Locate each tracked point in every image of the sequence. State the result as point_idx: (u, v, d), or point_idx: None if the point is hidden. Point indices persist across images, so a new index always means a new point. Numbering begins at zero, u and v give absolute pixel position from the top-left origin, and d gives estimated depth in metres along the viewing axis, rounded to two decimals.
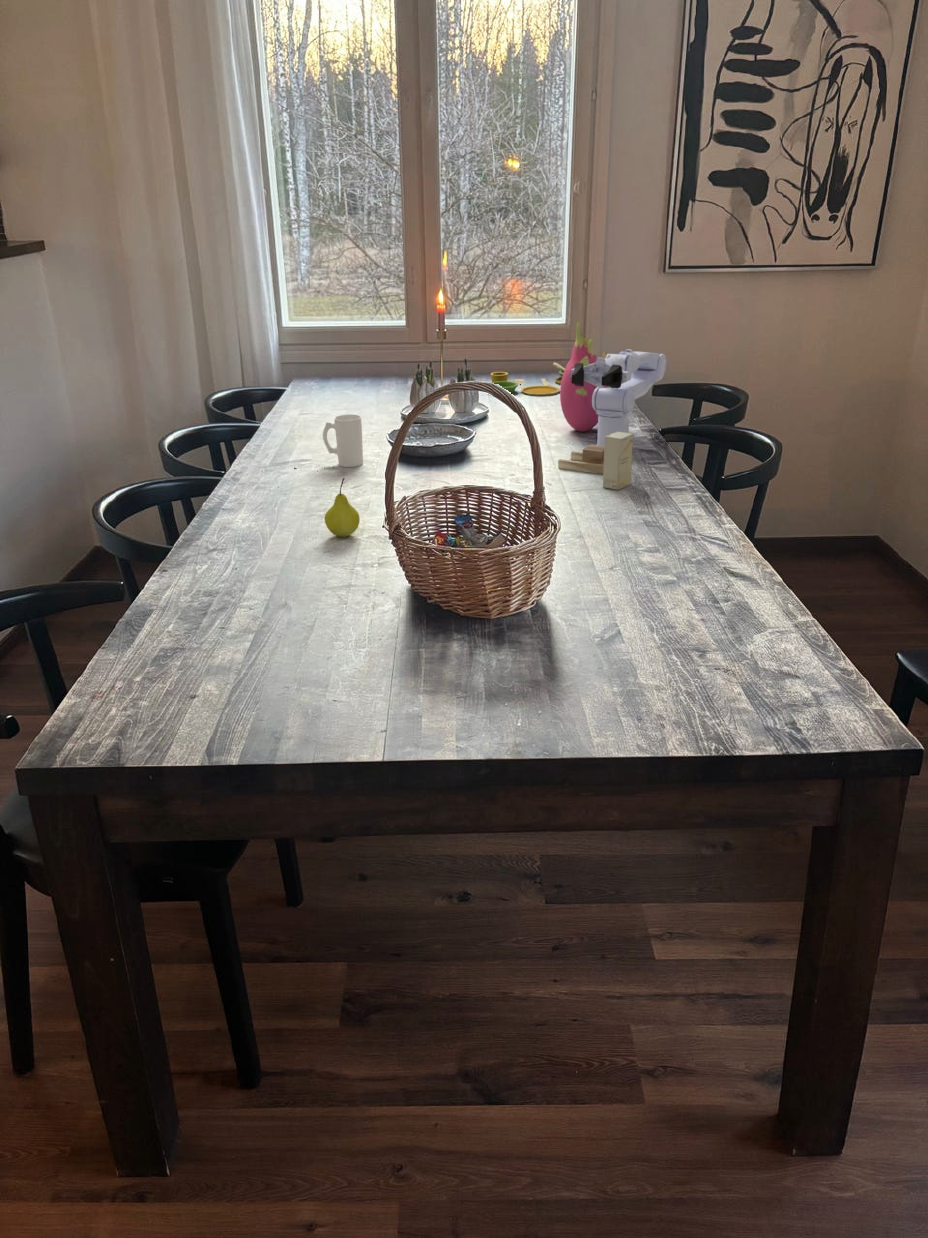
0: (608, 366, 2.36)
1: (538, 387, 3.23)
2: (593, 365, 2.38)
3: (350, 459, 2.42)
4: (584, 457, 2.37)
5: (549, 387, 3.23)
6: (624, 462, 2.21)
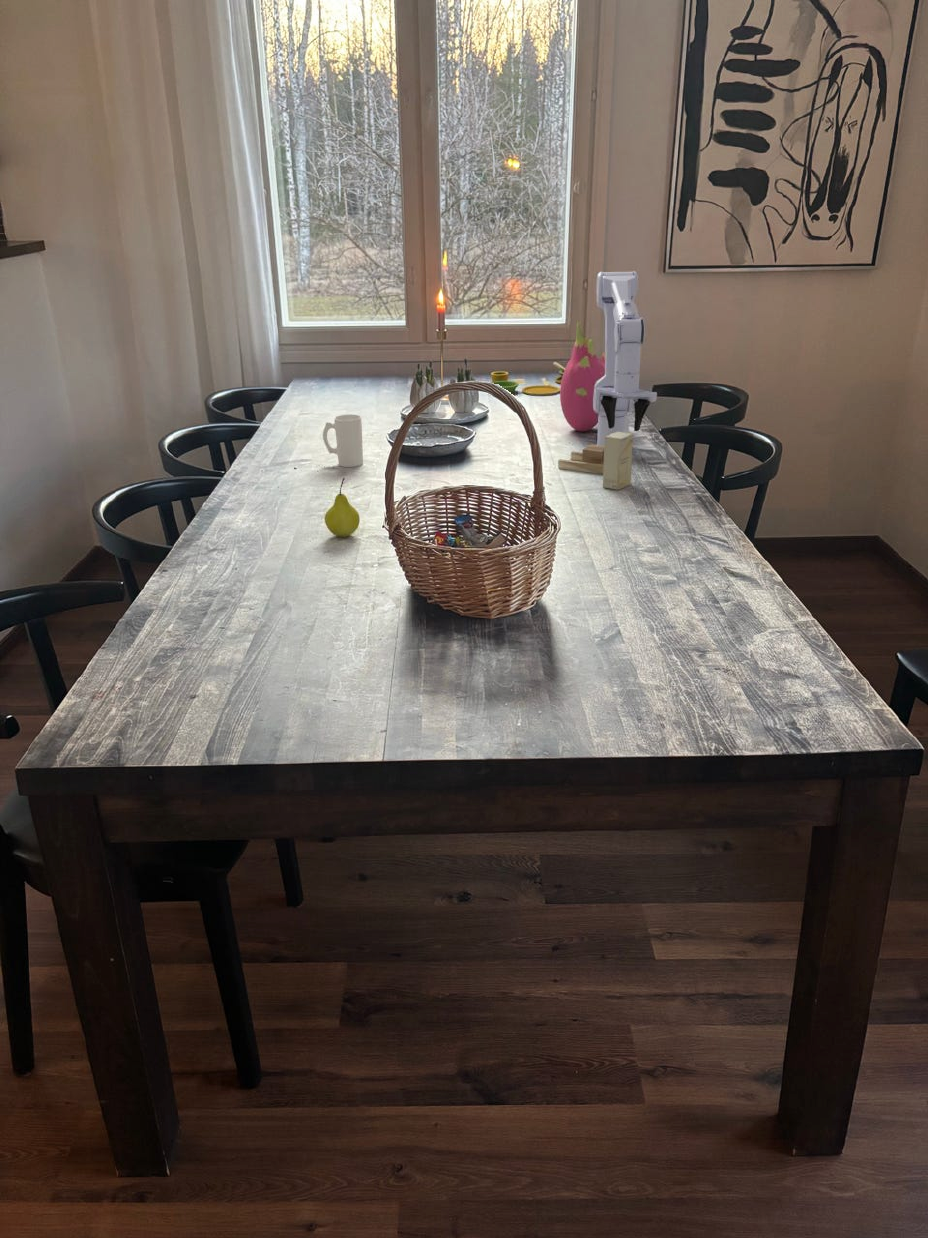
0: (631, 396, 2.26)
1: (538, 387, 3.24)
2: None
3: (350, 459, 2.42)
4: (584, 457, 2.37)
5: (549, 387, 3.23)
6: (624, 462, 2.21)
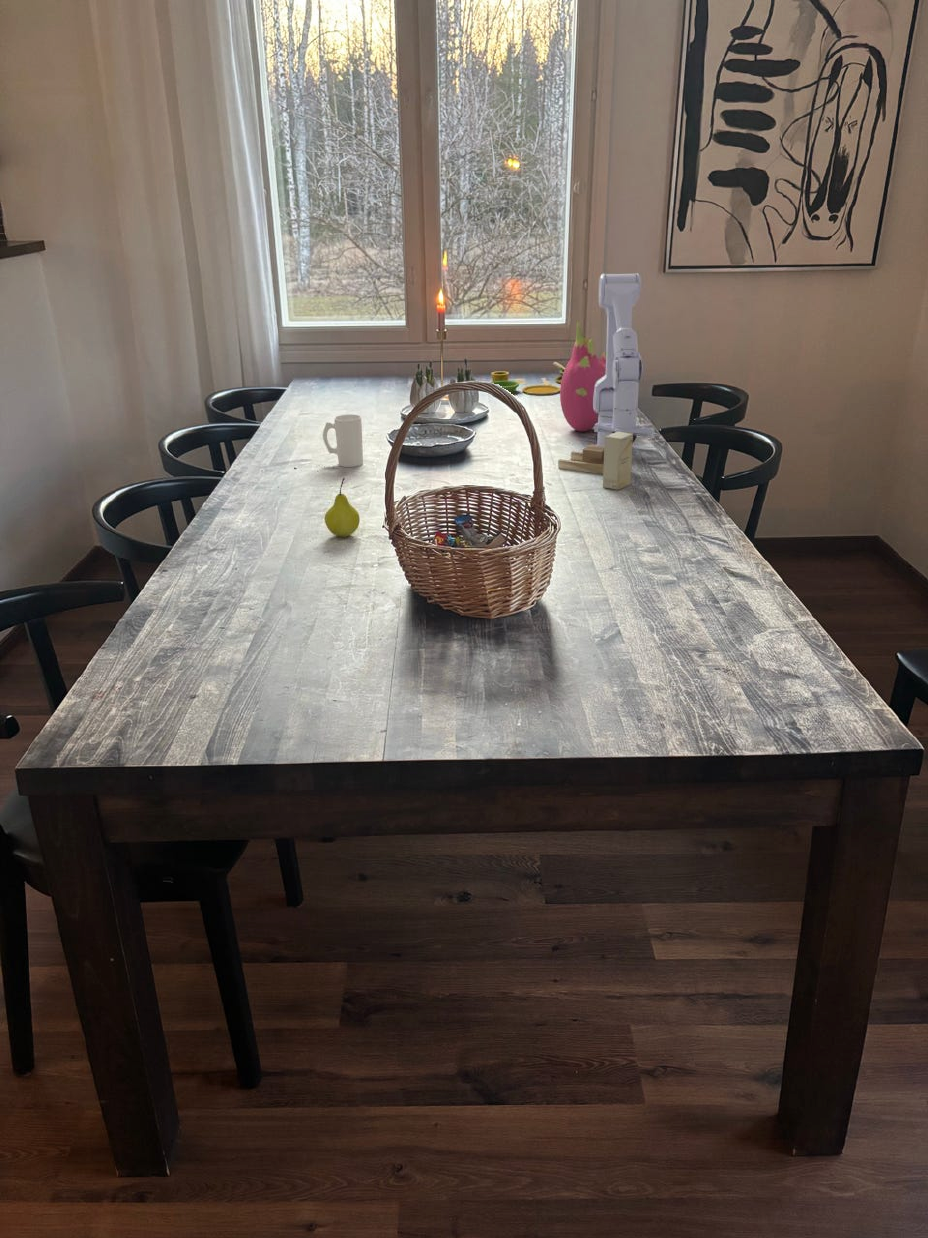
0: None
1: (539, 386, 3.24)
2: None
3: (350, 459, 2.42)
4: (584, 457, 2.37)
5: (550, 386, 3.23)
6: (624, 462, 2.21)
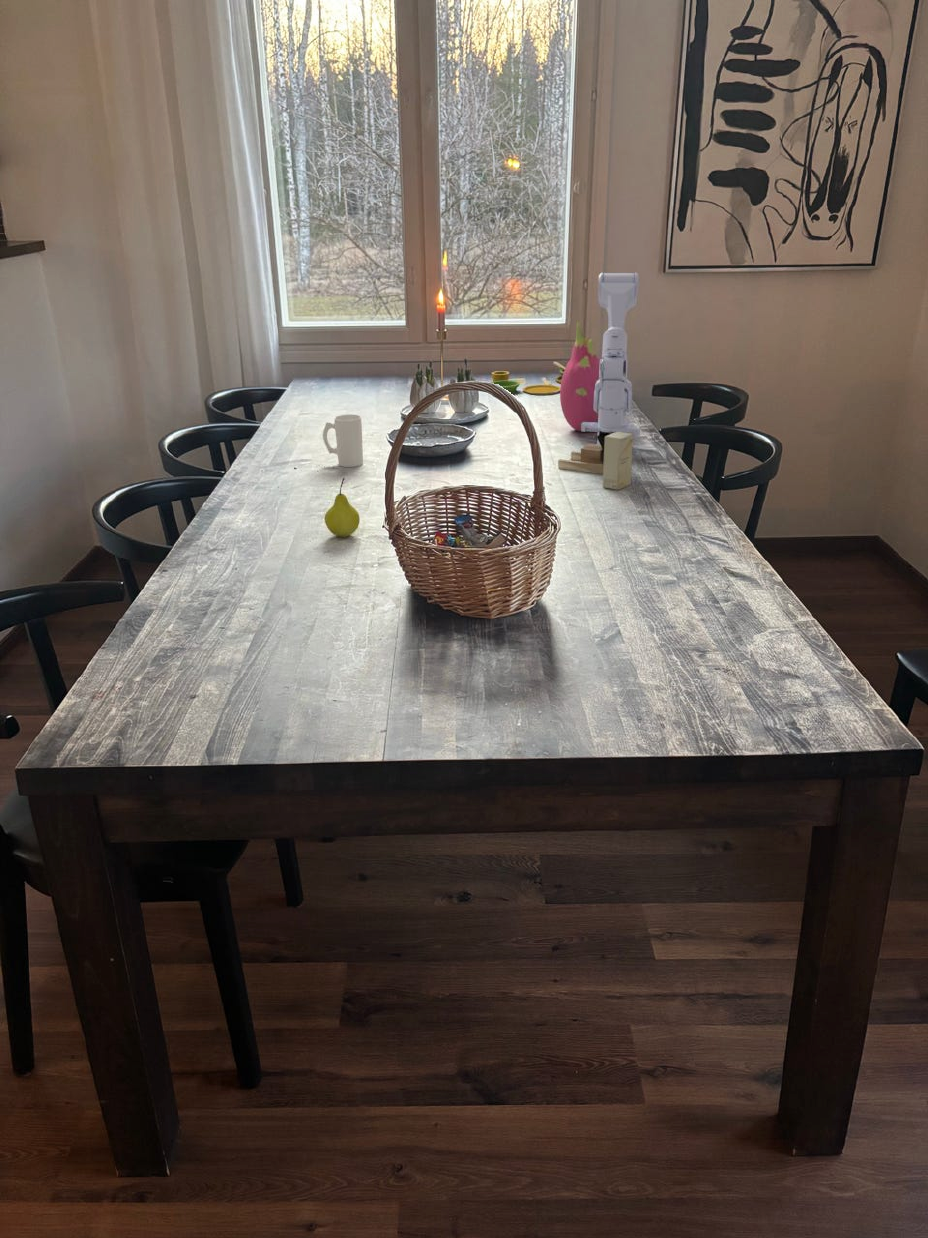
0: (616, 431, 2.31)
1: (539, 386, 3.25)
2: None
3: (350, 459, 2.42)
4: (582, 456, 2.37)
5: (550, 386, 3.24)
6: (624, 462, 2.21)
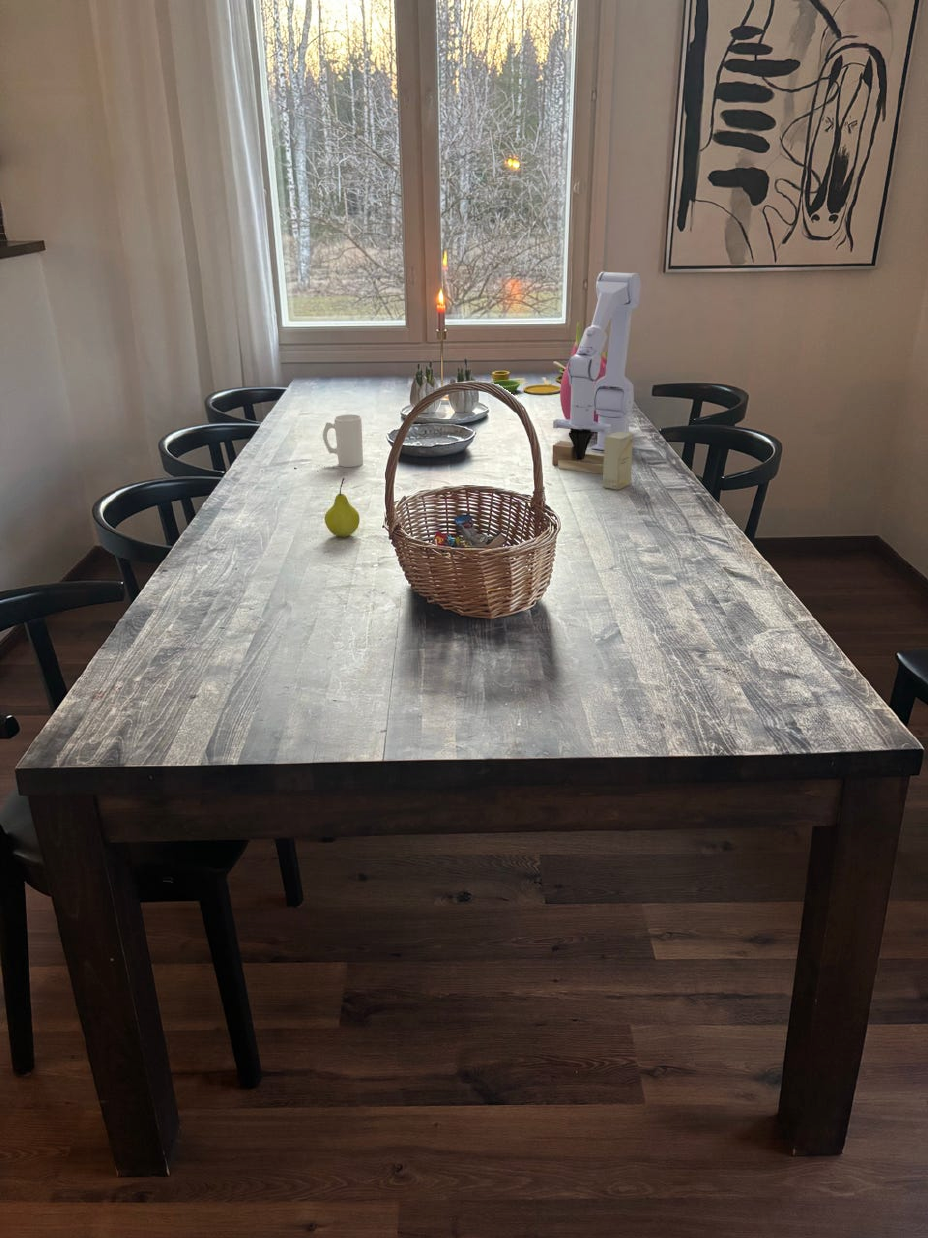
0: (586, 428, 2.34)
1: (540, 386, 3.25)
2: None
3: (350, 459, 2.42)
4: (554, 453, 2.41)
5: (551, 386, 3.24)
6: (624, 462, 2.21)
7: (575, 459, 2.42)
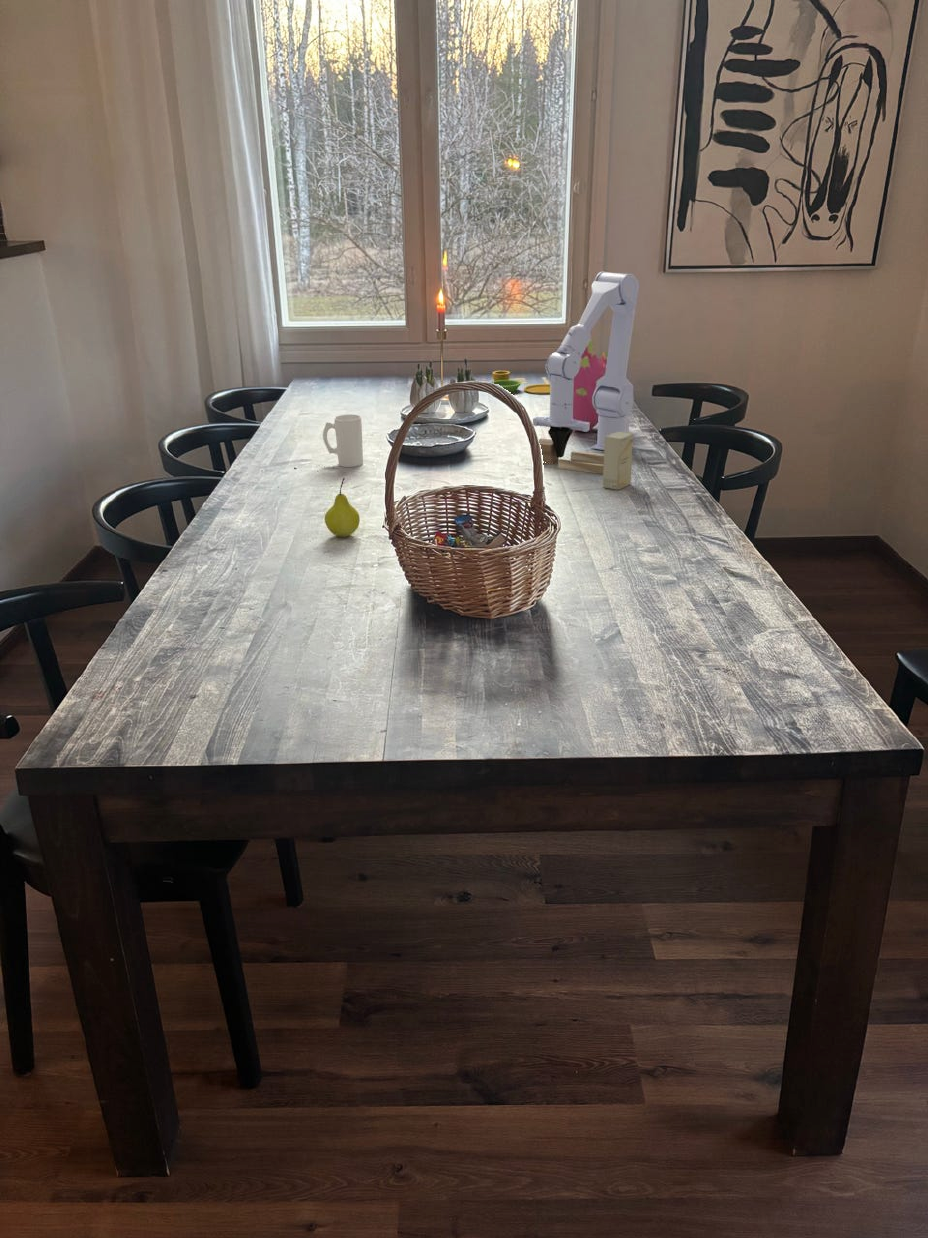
0: None
1: (540, 386, 3.26)
2: None
3: (350, 459, 2.42)
4: None
5: None
6: (624, 462, 2.21)
7: (555, 456, 2.44)
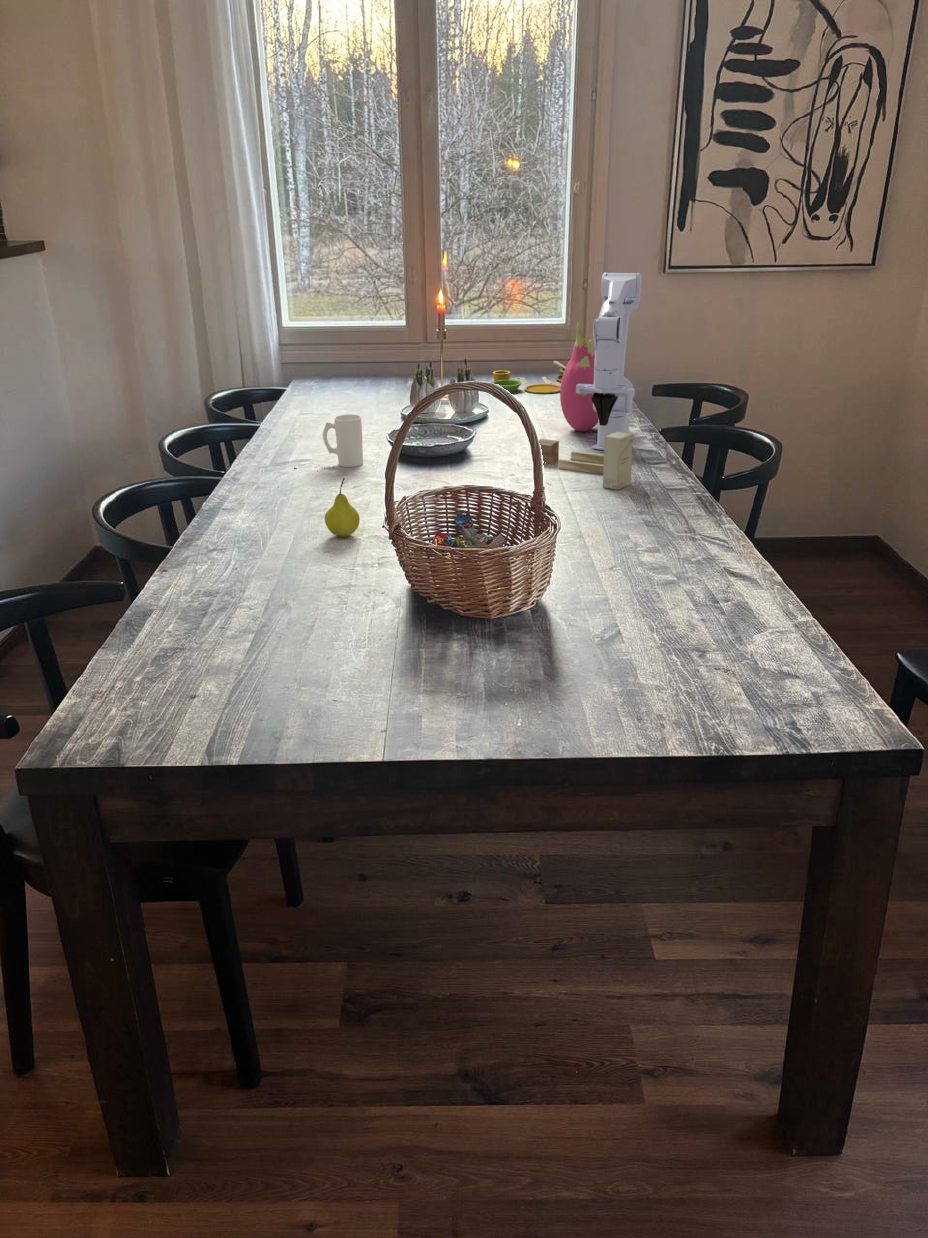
0: (610, 392, 2.30)
1: (540, 385, 3.26)
2: None
3: (350, 459, 2.42)
4: None
5: (551, 385, 3.25)
6: (624, 462, 2.21)
7: (555, 457, 2.44)
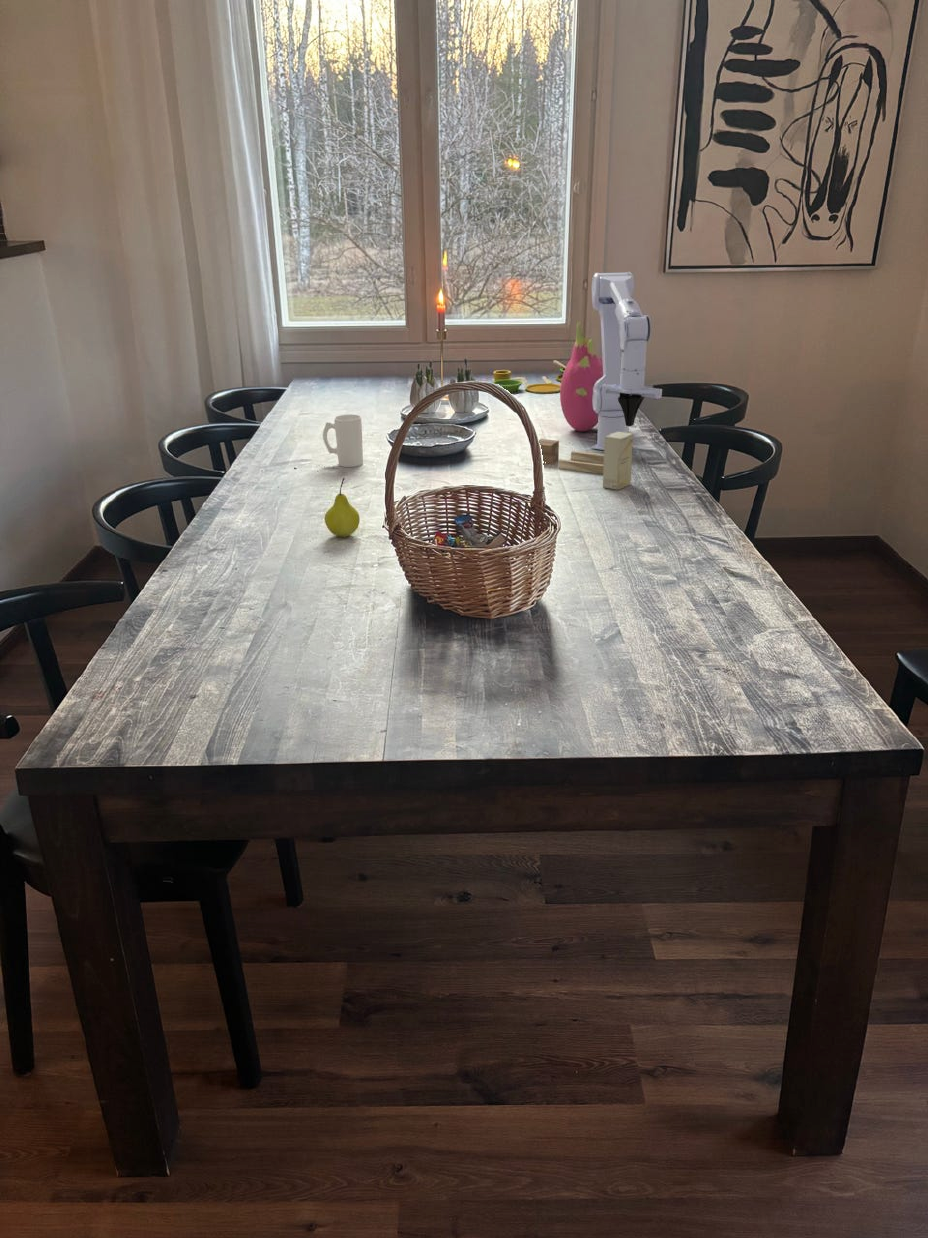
0: (637, 393, 2.29)
1: (541, 385, 3.27)
2: (621, 391, 2.31)
3: (350, 459, 2.42)
4: None
5: (552, 385, 3.26)
6: (624, 462, 2.21)
7: (555, 457, 2.44)
